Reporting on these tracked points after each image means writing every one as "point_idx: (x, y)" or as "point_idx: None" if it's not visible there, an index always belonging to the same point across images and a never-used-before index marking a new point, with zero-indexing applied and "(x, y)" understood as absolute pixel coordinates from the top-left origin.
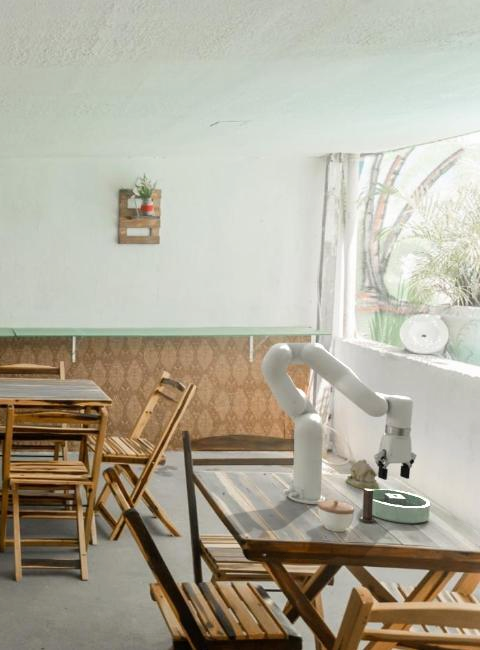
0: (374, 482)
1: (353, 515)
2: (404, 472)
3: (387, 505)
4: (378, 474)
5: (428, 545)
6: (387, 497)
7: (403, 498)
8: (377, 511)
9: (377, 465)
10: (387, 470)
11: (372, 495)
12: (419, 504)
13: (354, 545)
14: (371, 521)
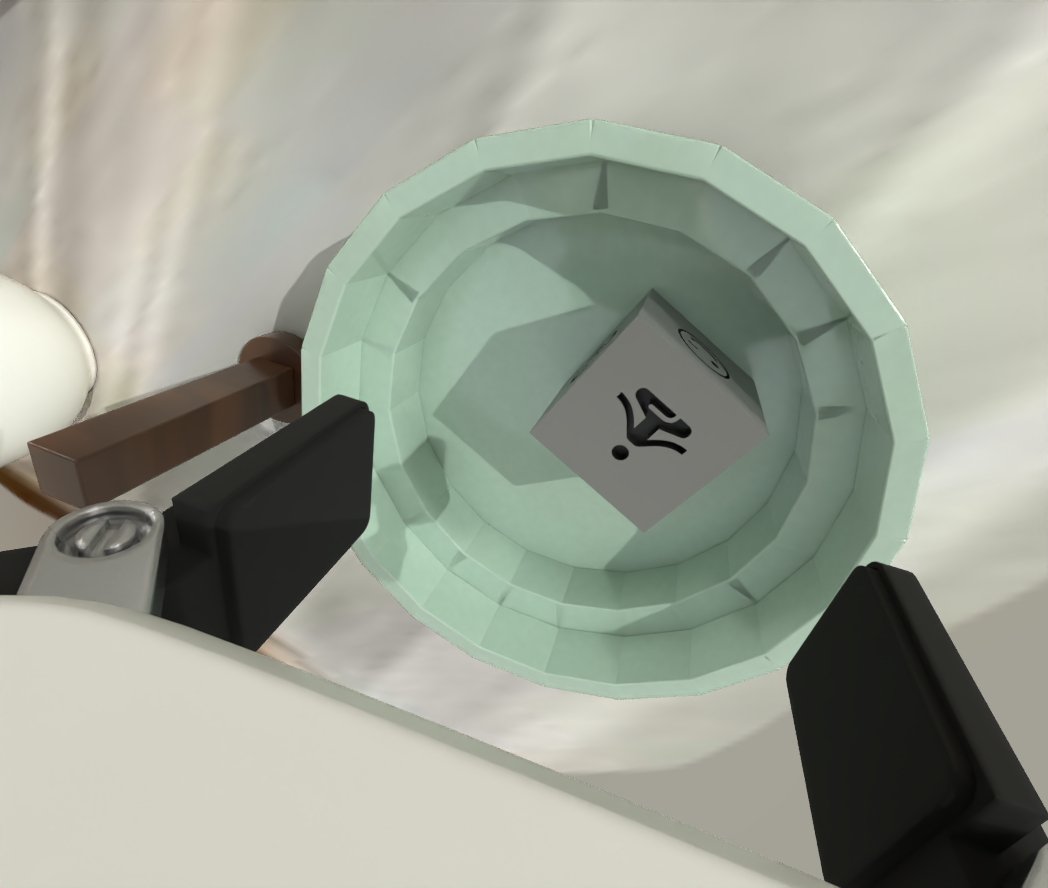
0: None
1: (12, 460)
2: (836, 716)
3: None
4: (314, 415)
5: (320, 671)
6: (580, 375)
7: (634, 514)
8: None
9: (79, 514)
10: (260, 641)
11: (133, 485)
12: (810, 554)
13: (44, 501)
14: (276, 415)
